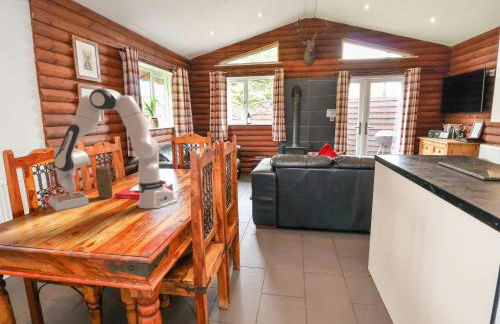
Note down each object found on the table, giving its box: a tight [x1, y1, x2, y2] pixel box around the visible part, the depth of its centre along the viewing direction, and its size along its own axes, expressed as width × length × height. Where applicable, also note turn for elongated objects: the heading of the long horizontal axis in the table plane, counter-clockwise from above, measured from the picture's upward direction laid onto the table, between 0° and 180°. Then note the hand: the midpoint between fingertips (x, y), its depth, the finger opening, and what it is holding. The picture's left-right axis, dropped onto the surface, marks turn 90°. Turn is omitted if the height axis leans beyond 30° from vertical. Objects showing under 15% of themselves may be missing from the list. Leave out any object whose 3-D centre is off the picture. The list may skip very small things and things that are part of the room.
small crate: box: [56, 192, 80, 202], centre depth 160 cm, size 10×6×5 cm, turn 136°
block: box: [95, 165, 113, 200], centre depth 173 cm, size 11×8×20 cm
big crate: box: [48, 191, 90, 212], centre depth 160 cm, size 16×16×5 cm
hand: (69, 195), depth 159 cm, fingers open, 8 cm apart
